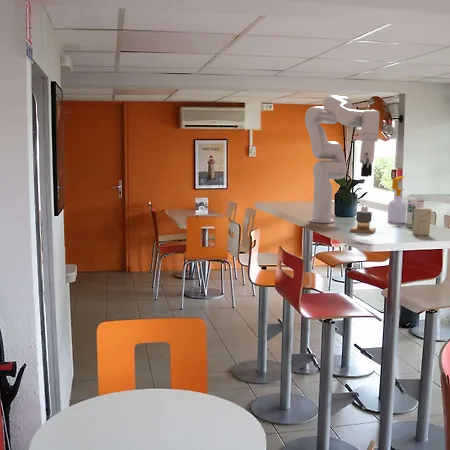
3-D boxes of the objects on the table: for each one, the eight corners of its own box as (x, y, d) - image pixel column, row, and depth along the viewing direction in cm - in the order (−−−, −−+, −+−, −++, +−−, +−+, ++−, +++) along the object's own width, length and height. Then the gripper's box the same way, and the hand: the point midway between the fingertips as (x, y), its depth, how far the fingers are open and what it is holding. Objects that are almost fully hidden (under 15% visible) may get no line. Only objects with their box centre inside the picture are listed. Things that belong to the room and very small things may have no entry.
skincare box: (417, 235, 249) (419, 208, 247) (411, 234, 253) (413, 207, 251) (429, 235, 251) (432, 208, 249) (423, 234, 255) (425, 207, 253)
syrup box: (405, 226, 281) (407, 197, 279) (414, 226, 283) (416, 198, 281) (412, 228, 276) (414, 198, 274) (422, 227, 278) (424, 199, 276)
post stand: (353, 229, 263) (355, 204, 261) (375, 231, 259) (377, 205, 258) (350, 231, 254) (351, 205, 252) (372, 233, 250) (374, 207, 249)
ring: (357, 219, 260) (358, 211, 260) (371, 220, 258) (372, 212, 257) (355, 220, 254) (355, 212, 254) (369, 222, 252) (370, 213, 251)
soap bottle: (408, 223, 297) (412, 176, 294) (396, 223, 293) (399, 176, 289) (396, 220, 305) (399, 176, 302) (383, 221, 301) (387, 175, 297)
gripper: (363, 138, 260) (360, 175, 263) (357, 137, 245) (354, 176, 247) (380, 138, 258) (377, 175, 260) (375, 137, 242) (372, 177, 244)
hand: (366, 176), depth 253 cm, fingers open, 9 cm apart
